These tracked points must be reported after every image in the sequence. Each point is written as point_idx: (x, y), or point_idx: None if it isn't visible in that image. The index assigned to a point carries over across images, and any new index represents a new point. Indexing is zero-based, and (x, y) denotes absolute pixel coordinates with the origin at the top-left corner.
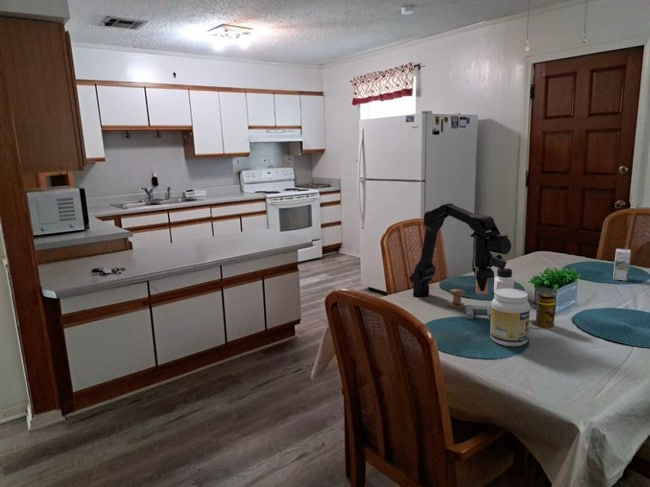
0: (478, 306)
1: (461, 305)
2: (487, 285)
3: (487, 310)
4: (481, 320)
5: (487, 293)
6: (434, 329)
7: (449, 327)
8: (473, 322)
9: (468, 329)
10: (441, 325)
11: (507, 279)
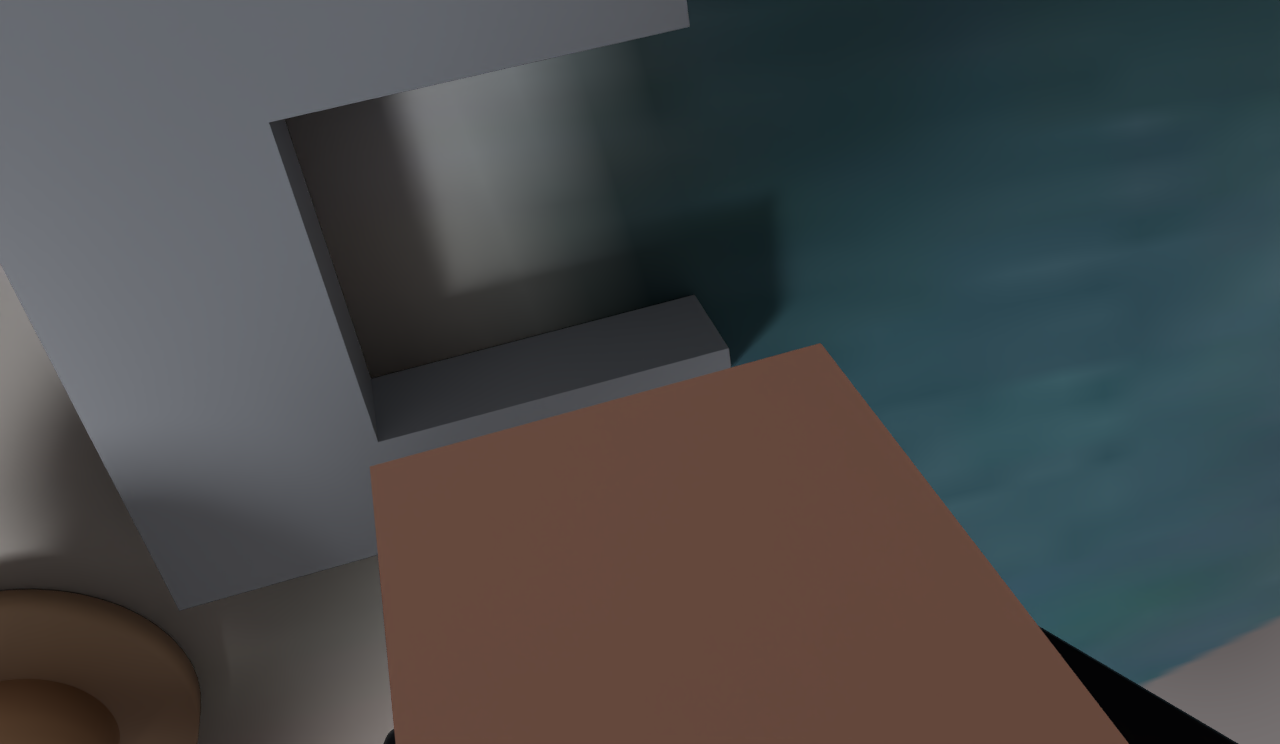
0: (140, 344)
1: (68, 655)
2: (1026, 635)
3: (368, 89)
4: (734, 135)
5: (836, 368)
6: (1186, 656)
7: (1117, 531)
8: (871, 262)
9: (1187, 281)
10: (1052, 632)
11: None
